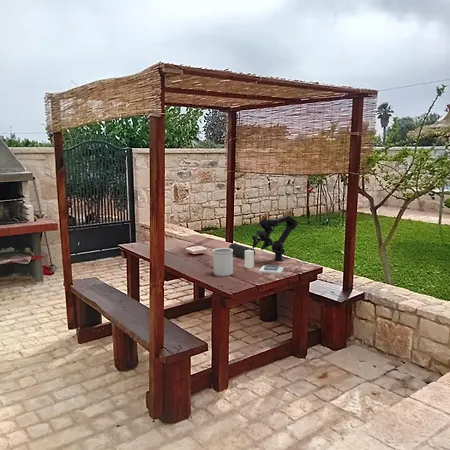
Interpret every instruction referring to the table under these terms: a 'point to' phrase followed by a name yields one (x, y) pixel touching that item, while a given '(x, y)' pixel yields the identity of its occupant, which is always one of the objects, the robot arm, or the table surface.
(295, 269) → the table surface
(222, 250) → the utensil holder
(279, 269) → the dock plate
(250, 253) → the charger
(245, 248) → the muzzle brake
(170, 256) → the table surface
